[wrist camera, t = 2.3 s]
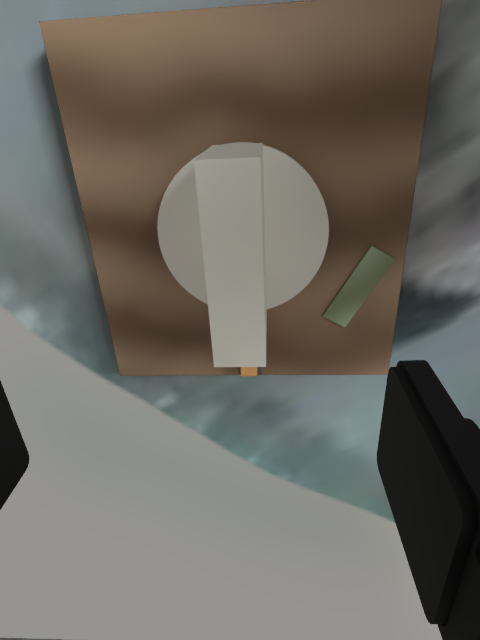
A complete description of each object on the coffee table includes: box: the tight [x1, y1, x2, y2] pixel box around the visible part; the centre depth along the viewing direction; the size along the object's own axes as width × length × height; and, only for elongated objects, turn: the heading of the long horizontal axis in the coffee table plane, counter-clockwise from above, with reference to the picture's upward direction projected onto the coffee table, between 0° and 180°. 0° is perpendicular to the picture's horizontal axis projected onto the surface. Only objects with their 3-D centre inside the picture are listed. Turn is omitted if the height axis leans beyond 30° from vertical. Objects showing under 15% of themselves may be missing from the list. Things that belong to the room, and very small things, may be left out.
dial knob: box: [157, 142, 329, 376], centre depth 21 cm, size 14×9×6 cm, turn 3°
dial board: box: [39, 0, 442, 376], centre depth 24 cm, size 20×18×3 cm
